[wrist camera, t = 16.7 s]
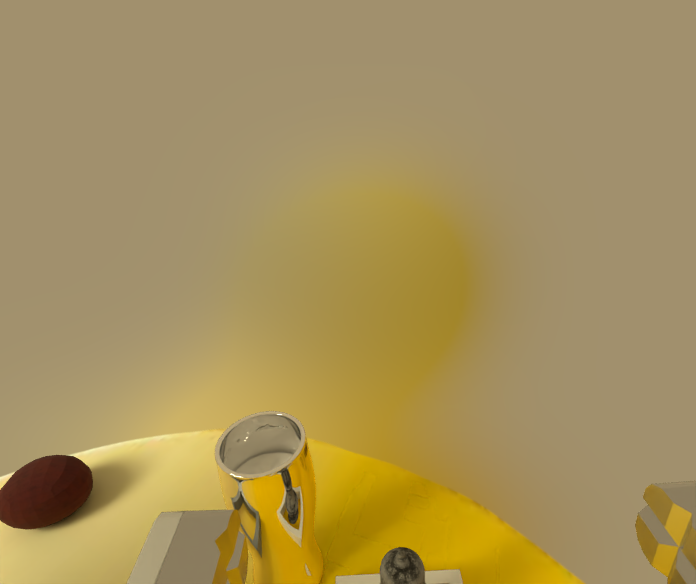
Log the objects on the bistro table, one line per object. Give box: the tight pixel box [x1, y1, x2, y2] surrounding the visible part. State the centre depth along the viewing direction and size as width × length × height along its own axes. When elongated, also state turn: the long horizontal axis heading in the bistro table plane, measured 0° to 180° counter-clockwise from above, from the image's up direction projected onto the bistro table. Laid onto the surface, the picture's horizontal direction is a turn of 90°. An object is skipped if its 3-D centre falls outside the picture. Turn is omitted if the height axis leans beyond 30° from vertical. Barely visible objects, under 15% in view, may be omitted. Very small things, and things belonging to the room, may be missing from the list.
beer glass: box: [215, 411, 324, 584], centre depth 35 cm, size 7×7×15 cm
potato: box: [0, 455, 93, 529], centre depth 45 cm, size 7×8×6 cm
